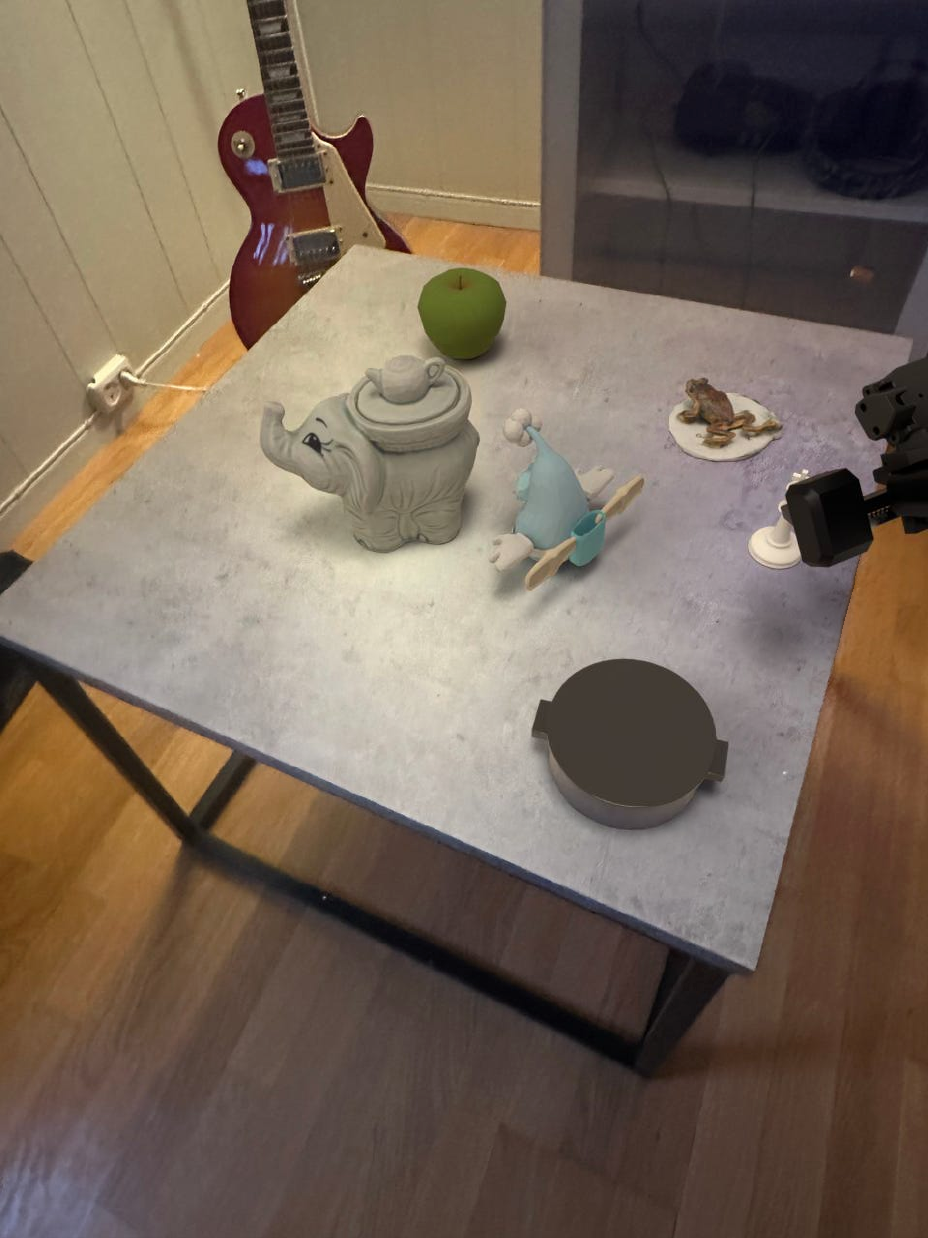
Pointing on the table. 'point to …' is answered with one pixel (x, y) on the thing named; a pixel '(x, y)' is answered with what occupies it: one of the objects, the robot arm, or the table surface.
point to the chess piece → (777, 539)
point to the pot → (629, 742)
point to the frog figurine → (721, 424)
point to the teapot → (386, 451)
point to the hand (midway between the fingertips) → (829, 493)
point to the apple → (462, 312)
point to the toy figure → (555, 507)
